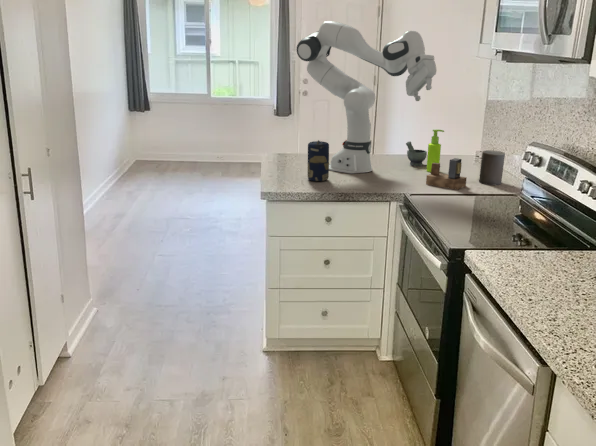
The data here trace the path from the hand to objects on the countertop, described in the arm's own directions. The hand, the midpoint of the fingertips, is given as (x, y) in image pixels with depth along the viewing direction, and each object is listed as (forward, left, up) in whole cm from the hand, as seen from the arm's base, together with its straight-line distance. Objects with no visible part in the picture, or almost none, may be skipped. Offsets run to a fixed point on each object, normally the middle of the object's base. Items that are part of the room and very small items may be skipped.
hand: (423, 95), depth 252 cm
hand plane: (+12, +1, -38) cm, 40 cm away
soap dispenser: (+1, +28, -39) cm, 48 cm away
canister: (-42, -14, -39) cm, 59 cm away
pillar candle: (+29, +16, -39) cm, 51 cm away
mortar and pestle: (-11, +39, -39) cm, 56 cm away
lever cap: (+16, 0, -38) cm, 41 cm away
